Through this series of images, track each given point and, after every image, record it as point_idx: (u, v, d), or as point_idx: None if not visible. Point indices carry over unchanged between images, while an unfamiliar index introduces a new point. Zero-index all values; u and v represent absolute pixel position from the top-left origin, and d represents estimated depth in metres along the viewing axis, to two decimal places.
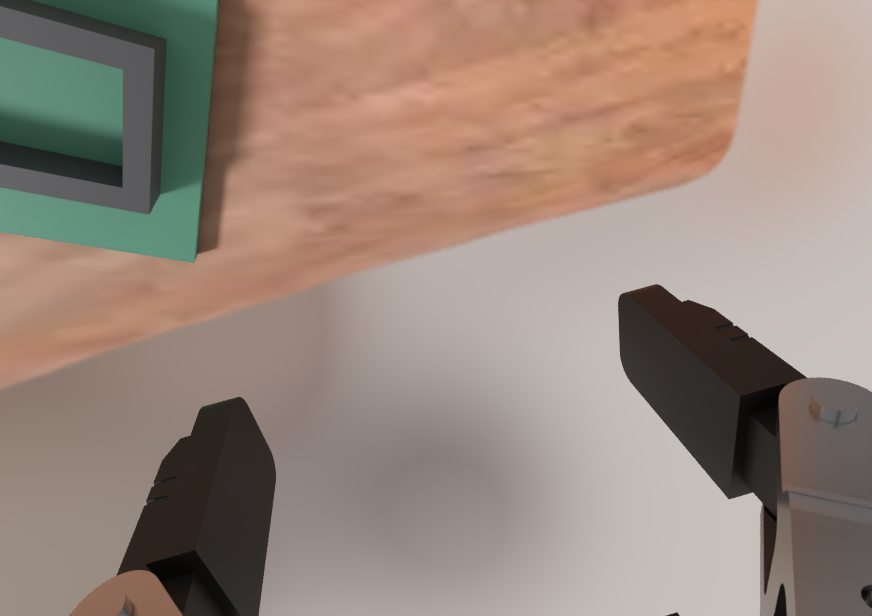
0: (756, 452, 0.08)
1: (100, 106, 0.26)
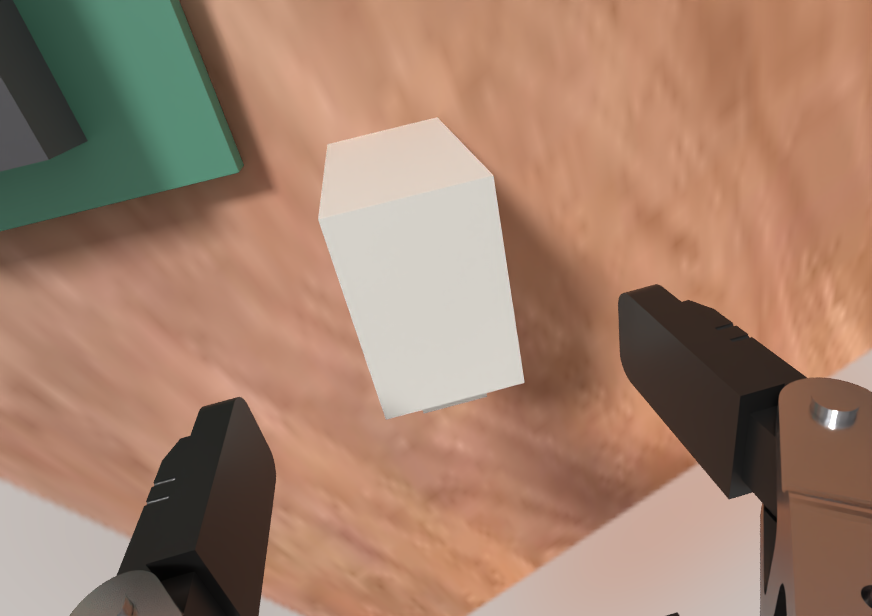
0: (756, 452, 0.08)
1: None
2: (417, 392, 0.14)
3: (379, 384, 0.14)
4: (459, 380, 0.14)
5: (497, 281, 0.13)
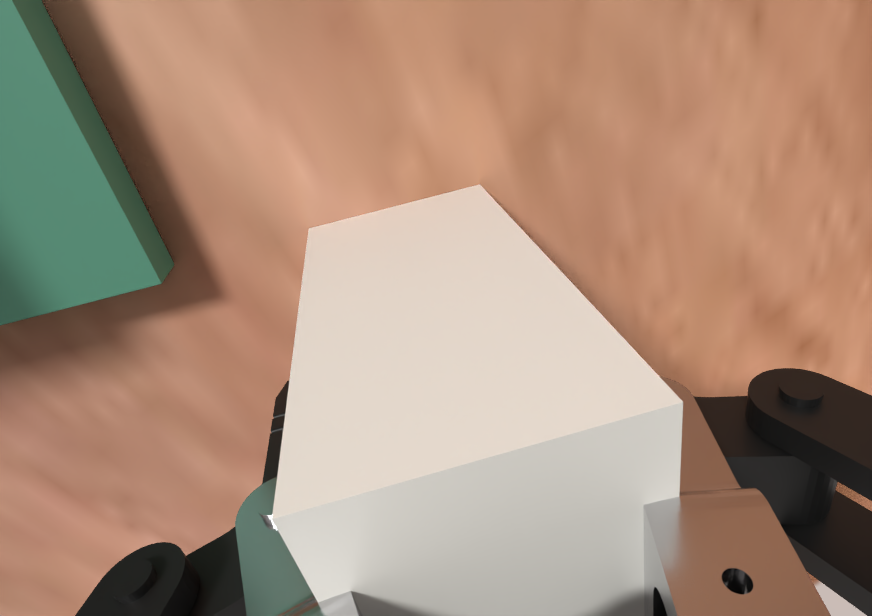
0: None
1: None
2: None
3: None
4: None
5: None
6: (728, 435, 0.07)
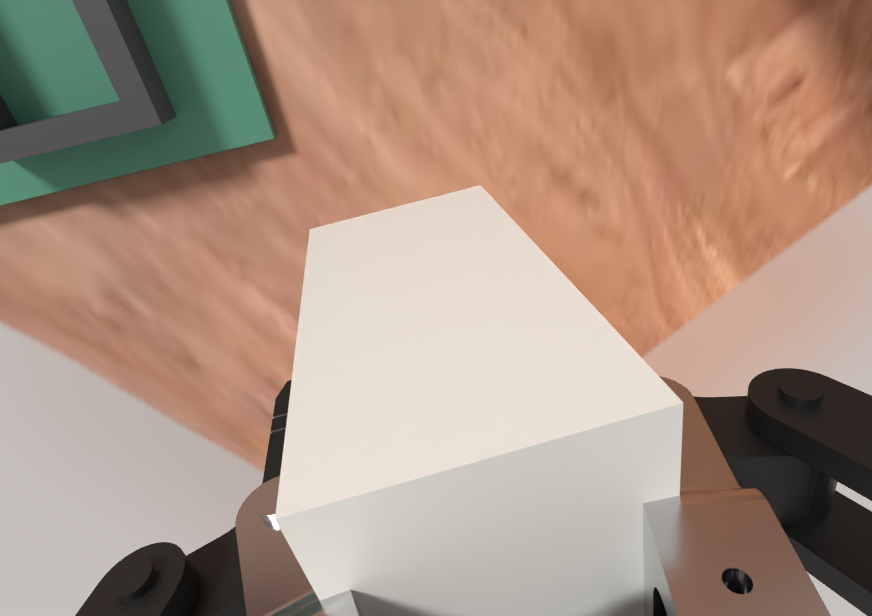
0: None
1: (62, 73, 0.23)
2: None
3: None
4: None
5: None
6: (728, 435, 0.07)
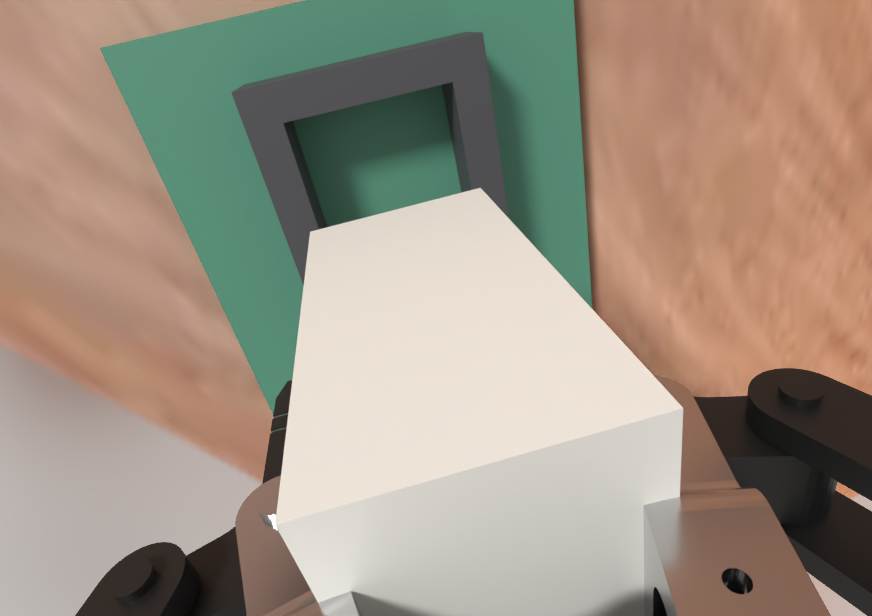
0: None
1: None
2: None
3: None
4: None
5: None
6: (728, 435, 0.07)
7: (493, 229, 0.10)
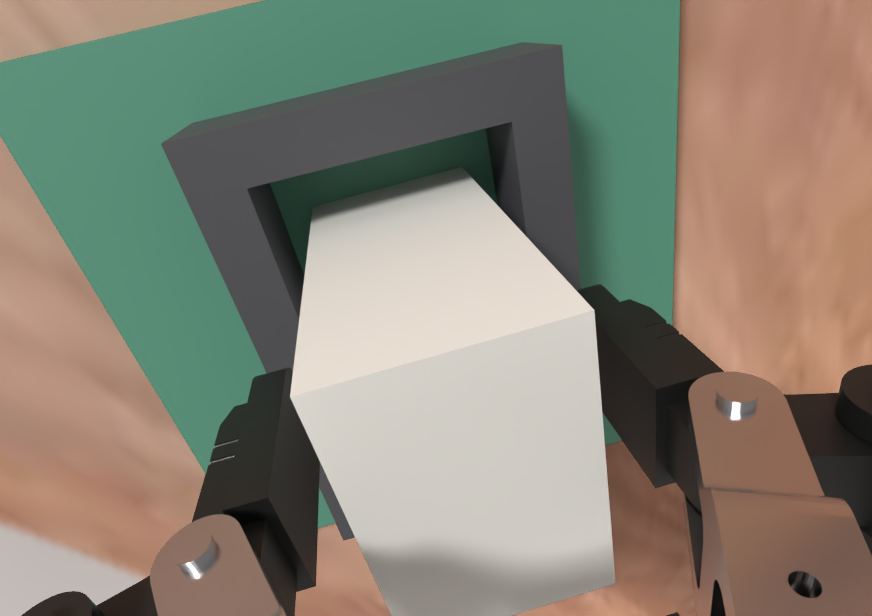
0: (674, 442, 0.08)
1: None
2: (455, 611, 0.09)
3: (397, 608, 0.09)
4: (519, 590, 0.09)
5: (587, 461, 0.08)
6: (820, 433, 0.07)
7: (468, 198, 0.11)
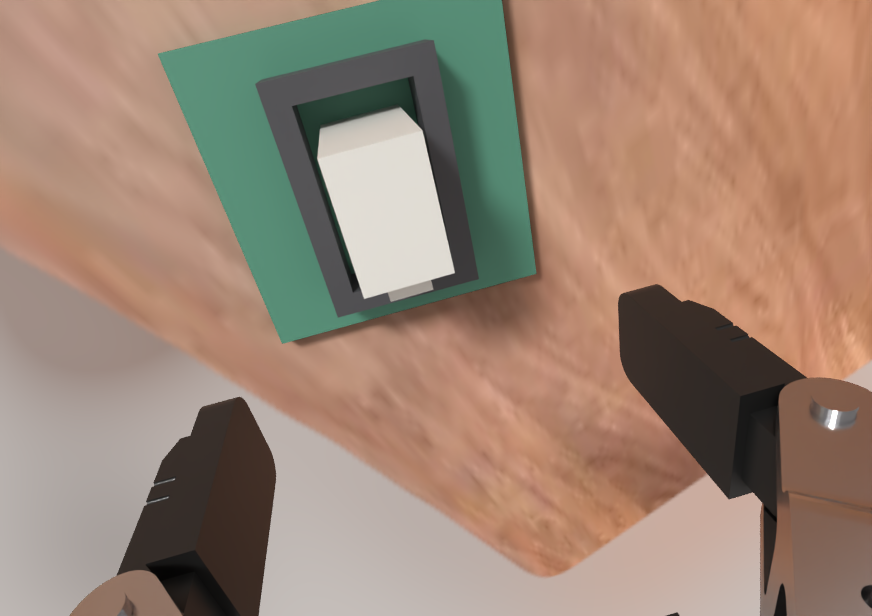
0: (756, 452, 0.08)
1: None
2: (384, 279, 0.22)
3: (358, 272, 0.21)
4: (411, 270, 0.22)
5: (430, 200, 0.21)
6: None
7: (395, 113, 0.24)
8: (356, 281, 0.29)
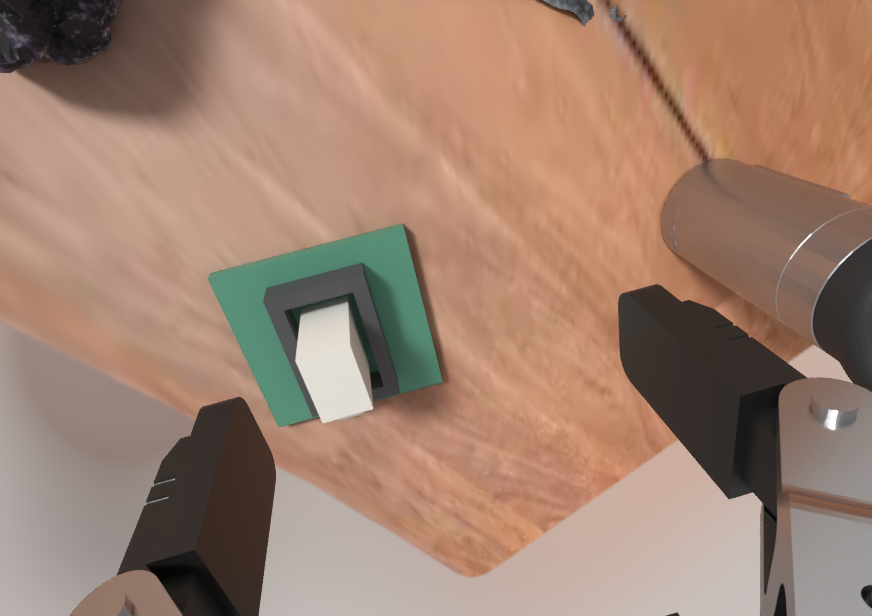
0: (756, 452, 0.08)
1: None
2: (333, 413, 0.40)
3: (319, 411, 0.39)
4: (348, 408, 0.40)
5: (357, 375, 0.38)
6: None
7: (343, 310, 0.42)
8: None
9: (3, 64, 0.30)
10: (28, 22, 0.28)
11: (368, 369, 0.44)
